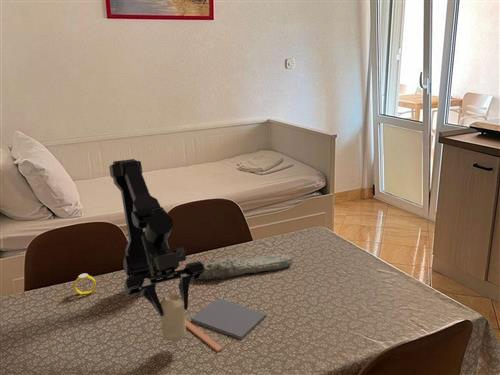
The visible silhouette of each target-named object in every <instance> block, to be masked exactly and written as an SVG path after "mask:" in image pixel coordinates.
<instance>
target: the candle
mask: <svg viewBox="0 0 500 375" xmlns="http://www.w3.org/2000/svg"><path fill="white" fill-rule="evenodd" d="M160 305H161V307H162V311H163V316H162V317H161V316H160V317H161V318H160V321H161V332H162V337H163V338H164V339H165V340H166V341H170V342H174V341H180V340H182V339H184V338H185V336H186V333H187V327H186V324H185V319H186V312H185V311H186V310H185V308H184V300H183V299H182V298H181V296H179V295H178V294H176V293H171V294H168V295H167V296H164V298H162V300H161V301H160Z"/></svg>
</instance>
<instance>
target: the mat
mask: <svg viewBox="0 0 500 375" xmlns="http://www.w3.org/2000/svg"><path fill="white" fill-rule="evenodd" d="M265 318H267V313H264V312H262V311H258V310H255V309H251V308H250V307H245V306H243V305H239V304H236V303H233V302H230V301H227V300H224V299H221V298H216V299H215V300H214V301H212V302H211V303H210V304H208V305H207V306H205V307H204V308H203V309H202V310H200V311H199V312H197V314H195V315H193V317H191V318H190V322H192V323H195V324H198V325H199V326H200V325H201V326H203V327H206V328H209V329H211V330H214V331H217V332H220V333H222V334H225V335H228V336H231V337H233V338H237V339H238V340H243V339H244V338H246V336H248V335H249V333H251V332H252V331H253V330H254V329H255V328H256V327H257V326H259V324H260V323H261V322H262V321H263V320H265Z"/></svg>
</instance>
